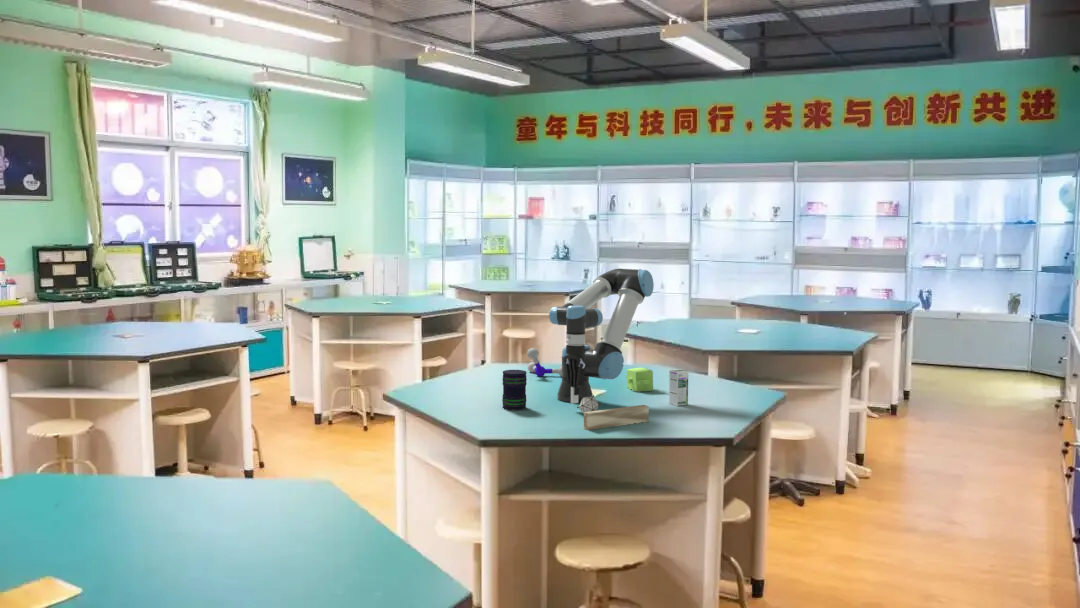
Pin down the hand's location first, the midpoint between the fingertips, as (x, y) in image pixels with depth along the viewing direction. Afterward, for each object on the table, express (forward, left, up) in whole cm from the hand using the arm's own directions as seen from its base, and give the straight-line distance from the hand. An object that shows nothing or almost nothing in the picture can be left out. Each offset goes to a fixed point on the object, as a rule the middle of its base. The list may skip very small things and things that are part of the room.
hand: (574, 402), depth 349 cm
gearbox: (-25, +52, -4) cm, 58 cm away
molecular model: (-76, +36, -4) cm, 84 cm away
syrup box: (+10, +46, -4) cm, 47 cm away
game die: (+10, 0, -4) cm, 11 cm away
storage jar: (-17, -18, -4) cm, 25 cm away
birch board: (+28, 0, -3) cm, 28 cm away
